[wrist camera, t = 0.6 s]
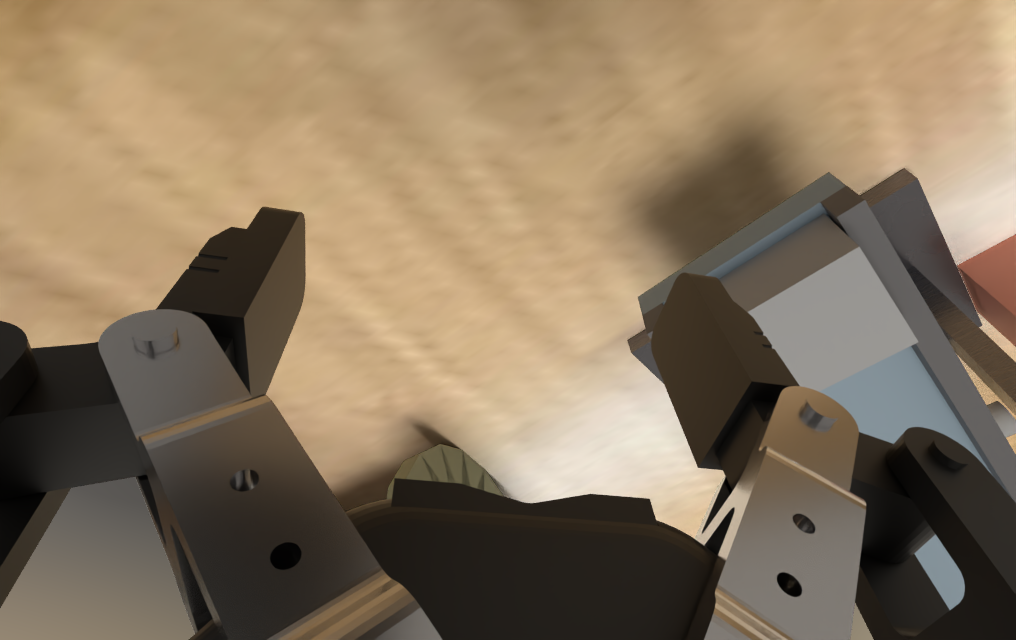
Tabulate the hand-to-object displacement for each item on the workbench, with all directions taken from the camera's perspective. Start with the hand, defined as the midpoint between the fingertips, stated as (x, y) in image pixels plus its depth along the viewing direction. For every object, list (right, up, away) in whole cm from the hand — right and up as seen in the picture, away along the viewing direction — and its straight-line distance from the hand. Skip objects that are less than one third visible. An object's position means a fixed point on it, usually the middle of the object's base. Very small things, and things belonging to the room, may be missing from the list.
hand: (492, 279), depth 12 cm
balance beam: (+20, -8, +17) cm, 28 cm away
